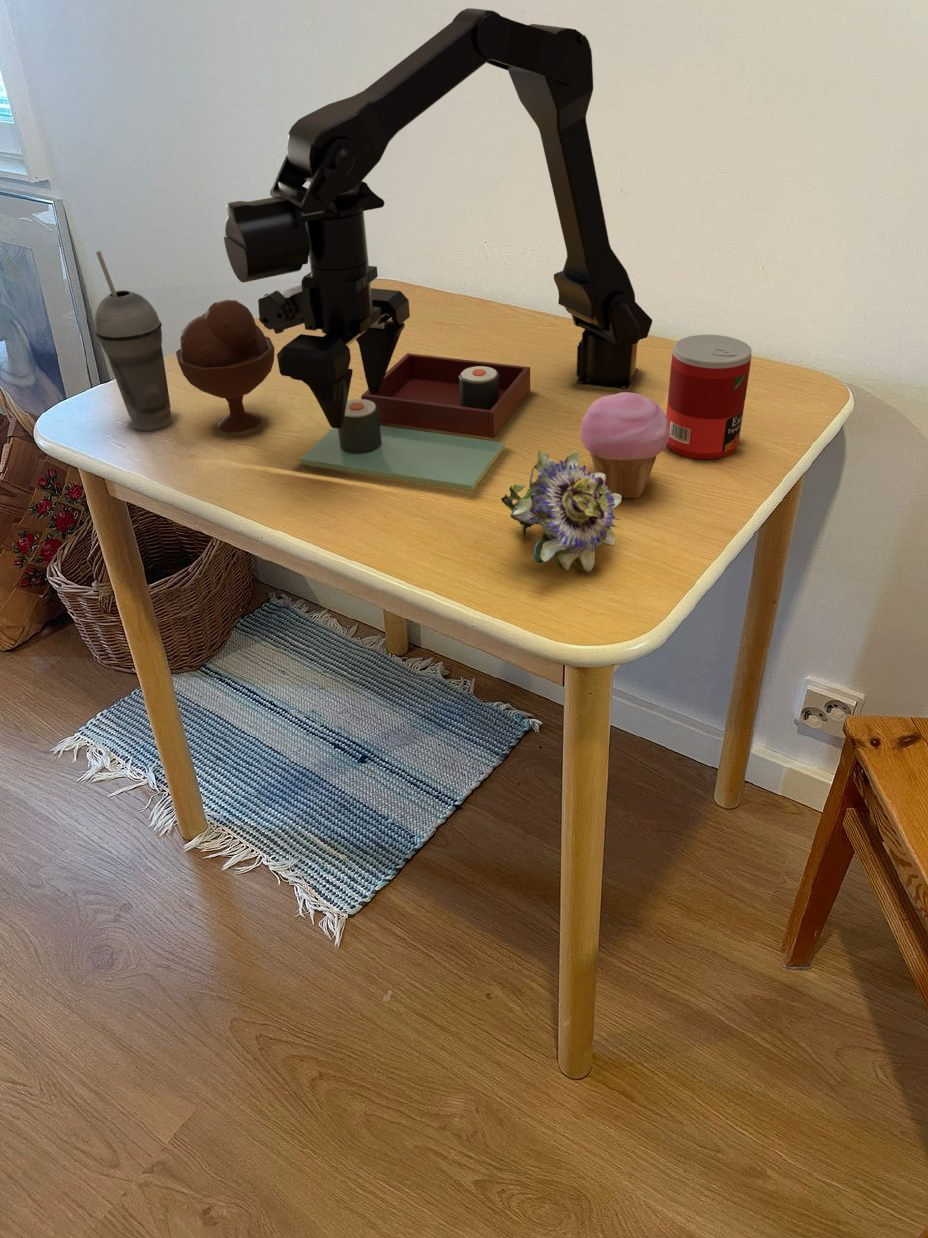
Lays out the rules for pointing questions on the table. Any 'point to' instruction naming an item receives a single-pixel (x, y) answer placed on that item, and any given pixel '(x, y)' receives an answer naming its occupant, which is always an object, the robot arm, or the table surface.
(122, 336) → the beverage cup
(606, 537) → the passion flower
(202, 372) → the ice cream bowl
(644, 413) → the cupcake
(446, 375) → the sushi box
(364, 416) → the cylinder
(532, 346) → the table surface
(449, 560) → the table surface
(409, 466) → the plate
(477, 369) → the cylinder
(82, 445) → the table surface
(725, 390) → the canned food
